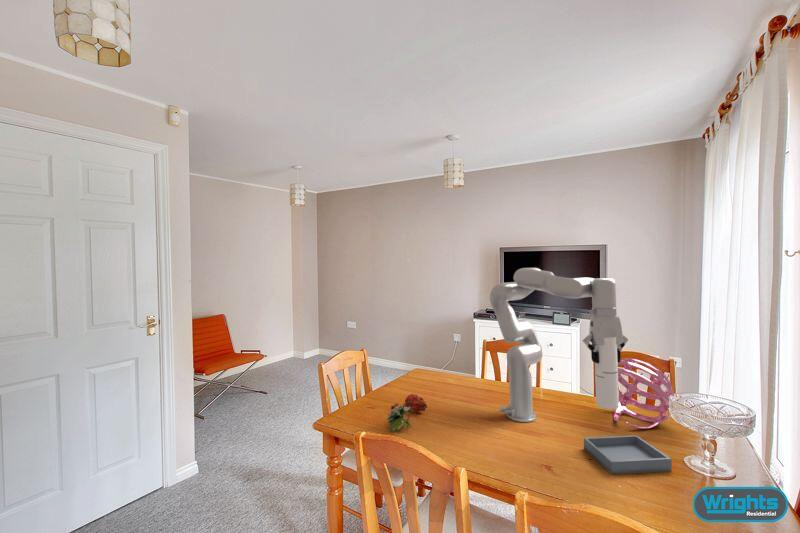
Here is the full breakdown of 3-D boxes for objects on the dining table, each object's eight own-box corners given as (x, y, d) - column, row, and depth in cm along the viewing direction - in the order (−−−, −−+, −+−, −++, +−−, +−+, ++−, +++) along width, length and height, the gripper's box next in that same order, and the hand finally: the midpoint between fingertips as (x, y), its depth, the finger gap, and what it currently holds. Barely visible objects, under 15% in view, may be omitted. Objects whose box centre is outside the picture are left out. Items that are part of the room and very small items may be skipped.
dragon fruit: (405, 411, 173) (425, 421, 165) (397, 405, 167) (418, 415, 159) (412, 394, 176) (433, 403, 168) (405, 388, 170) (426, 397, 163)
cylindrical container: (619, 410, 125) (616, 338, 125) (595, 407, 129) (593, 337, 129) (619, 403, 131) (616, 334, 131) (596, 400, 135) (594, 333, 135)
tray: (612, 474, 116) (611, 462, 116) (584, 448, 132) (583, 437, 132) (671, 471, 117) (671, 458, 117) (636, 446, 133) (636, 435, 133)
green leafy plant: (395, 436, 155) (400, 407, 162) (415, 438, 149) (420, 408, 156) (379, 429, 149) (385, 400, 155) (400, 431, 142) (405, 400, 149)
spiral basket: (632, 393, 132) (659, 343, 144) (571, 388, 157) (598, 346, 169) (676, 450, 134) (699, 396, 146) (609, 437, 159) (633, 391, 171)
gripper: (587, 314, 126) (588, 365, 125) (634, 312, 127) (636, 363, 126) (575, 312, 133) (577, 360, 133) (620, 310, 134) (622, 358, 134)
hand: (606, 361), depth 130 cm, fingers closed on cylindrical container, 7 cm apart
